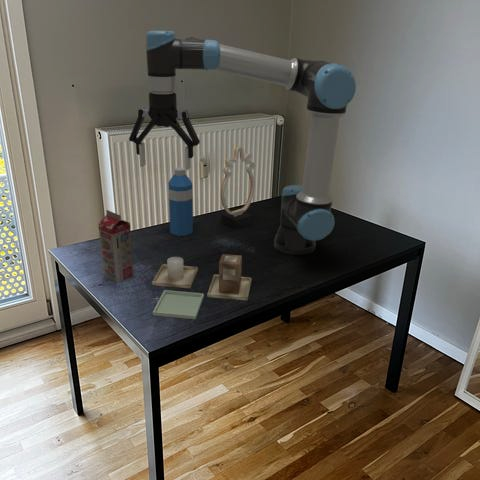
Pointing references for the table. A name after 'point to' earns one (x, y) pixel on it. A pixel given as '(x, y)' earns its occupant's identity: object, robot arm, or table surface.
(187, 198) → the water bottle
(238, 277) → the letter block
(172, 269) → the white dome
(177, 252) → the table surface
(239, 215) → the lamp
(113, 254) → the juice carton
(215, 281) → the tray
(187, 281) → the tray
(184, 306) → the tray
